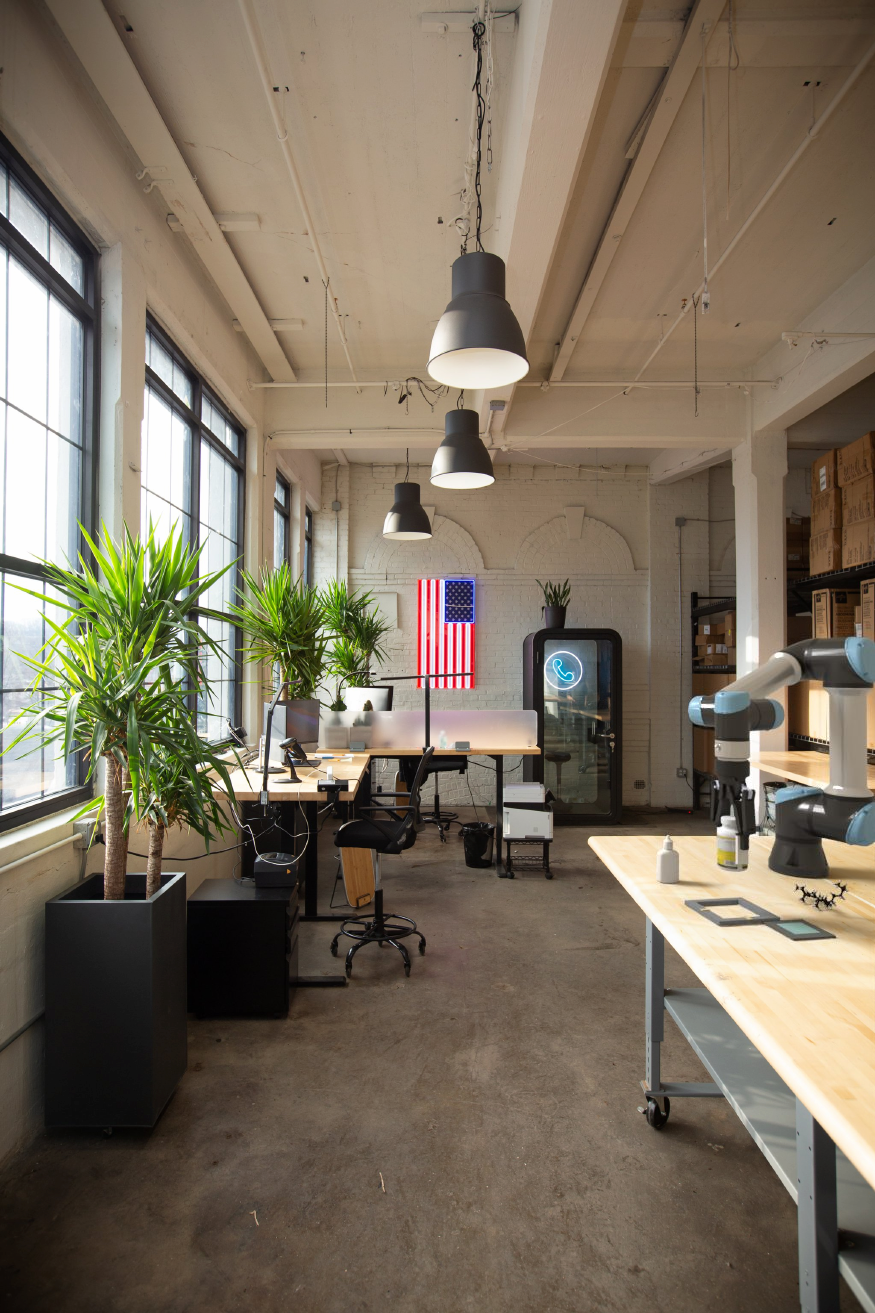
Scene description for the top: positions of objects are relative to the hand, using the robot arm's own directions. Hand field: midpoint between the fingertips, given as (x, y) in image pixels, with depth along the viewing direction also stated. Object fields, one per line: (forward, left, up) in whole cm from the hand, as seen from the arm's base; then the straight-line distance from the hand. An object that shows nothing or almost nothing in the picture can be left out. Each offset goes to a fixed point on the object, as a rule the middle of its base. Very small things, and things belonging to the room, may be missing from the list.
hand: (732, 859), depth 162 cm
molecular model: (-23, 0, -13) cm, 27 cm away
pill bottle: (0, 0, -2) cm, 2 cm away
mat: (-8, +12, -12) cm, 19 cm away
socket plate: (0, 0, -12) cm, 12 cm away
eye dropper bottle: (+2, -24, -12) cm, 27 cm away
